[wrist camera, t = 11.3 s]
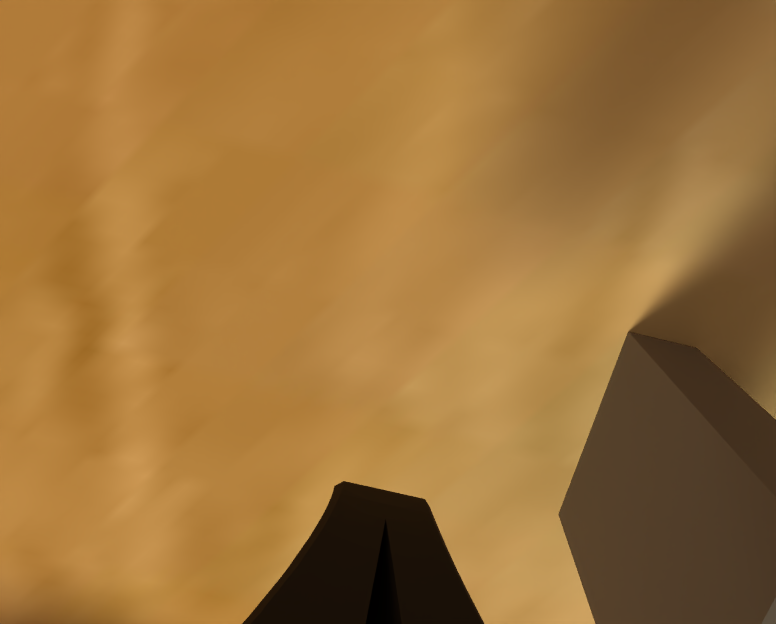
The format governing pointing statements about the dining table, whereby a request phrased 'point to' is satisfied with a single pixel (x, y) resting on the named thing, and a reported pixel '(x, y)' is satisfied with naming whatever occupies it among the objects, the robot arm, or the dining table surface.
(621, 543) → the domino
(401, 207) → the dining table surface
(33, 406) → the dining table surface
